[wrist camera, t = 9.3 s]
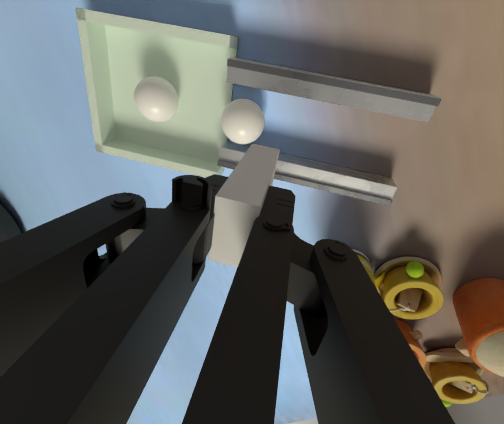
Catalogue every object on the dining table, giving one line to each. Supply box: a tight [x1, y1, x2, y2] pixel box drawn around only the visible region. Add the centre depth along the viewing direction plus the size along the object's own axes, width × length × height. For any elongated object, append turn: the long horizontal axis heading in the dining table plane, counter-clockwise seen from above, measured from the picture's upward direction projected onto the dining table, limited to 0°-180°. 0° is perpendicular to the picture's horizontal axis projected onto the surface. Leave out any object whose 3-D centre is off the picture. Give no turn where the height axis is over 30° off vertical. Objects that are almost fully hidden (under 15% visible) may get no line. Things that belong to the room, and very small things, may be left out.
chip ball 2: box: [221, 98, 265, 144], centre depth 24 cm, size 4×4×4 cm
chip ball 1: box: [134, 76, 179, 122], centre depth 24 cm, size 4×4×4 cm
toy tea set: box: [374, 257, 504, 407], centre depth 30 cm, size 26×16×10 cm, turn 3°
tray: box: [76, 8, 238, 177], centre depth 25 cm, size 13×12×2 cm
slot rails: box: [217, 57, 441, 206], centre depth 24 cm, size 16×9×2 cm, turn 81°
